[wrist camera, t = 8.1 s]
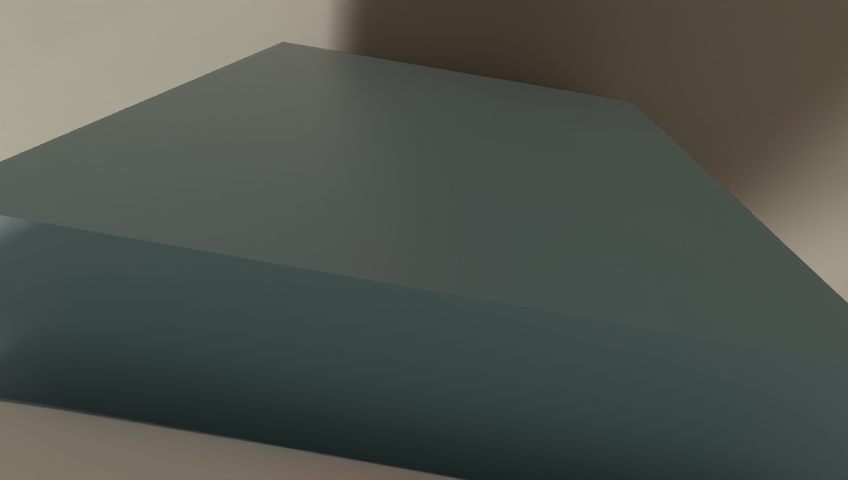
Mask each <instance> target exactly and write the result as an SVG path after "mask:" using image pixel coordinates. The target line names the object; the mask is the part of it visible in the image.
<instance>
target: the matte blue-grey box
mask: <svg viewBox="0 0 848 480" xmlns="http://www.w3.org/2000/svg"><path fill="white" fill-rule="evenodd" d="M0 398H4V399H11V400H18V401H25V402H32V403H39V404H45V405H51V406H56V407H62V408H68V409H74V410H79V411H85V412H91V413H97V414H102V415H108V416H114V417H120V418H125V419H131V420H137V421H143V422H148V423H154V424H160V425H165V426H171V427H177V428H183V429H188V430H194V431H200V432H206V433H211V434H217V435H223V436H228V437H234V438H240V439H246V440H251V441H257V442H263V443H268V444H274V445H280V446H285V447H291V448H296V449H302V450H308V451H313V452H319V453H324V454H330V455H336V456H341V457H347V458H352V459H358V460H364V461H369V462H375V463H380V464H386V465H391V466H397V467H403V468H408V469H414V470H419V471H425V472H430V473H436V474H441V475H447V476H452V477H458V478H463V479H469V480H848V303H847V302H846V301H845V300H844V299H843V298H842V297H841V296H839V295H838V294H837V293H836V292H835V291H834V290H833V289H832V288H831V287H830V286H829V285H828V284H827V283H826V282H825V281H823V280H822V279H821V278H820V277H819V276H818V275H817V274H816V273H815V272H814V271H813V270H812V269H811V268H810V267H809V266H807V265H806V264H805V263H804V262H803V261H802V260H801V259H800V258H799V257H798V256H797V255H796V254H795V253H794V252H793V251H791V250H790V249H789V248H788V247H787V246H786V245H785V244H784V243H783V242H782V241H781V240H780V239H779V238H778V237H777V236H775V235H774V234H773V233H772V232H771V231H770V230H769V229H768V228H767V227H766V226H765V225H764V224H763V223H762V222H761V221H759V220H758V219H757V218H756V217H755V216H754V215H753V214H752V213H751V212H750V211H749V210H748V209H747V208H746V207H745V206H743V205H742V204H741V203H740V202H739V201H738V200H737V199H736V198H735V197H734V196H733V195H732V194H731V193H730V192H729V191H727V190H726V189H725V188H724V187H723V186H722V185H721V184H720V183H719V182H718V181H717V180H716V179H715V178H714V177H713V176H711V175H710V174H709V173H708V172H707V171H706V170H705V169H704V168H703V167H702V166H701V165H700V164H699V163H698V162H697V161H695V160H694V159H693V158H692V157H691V156H690V155H689V154H688V153H687V152H686V151H685V150H684V149H683V148H682V147H681V146H679V145H678V144H677V143H676V142H675V141H674V140H673V139H672V138H671V137H670V136H669V135H668V134H667V133H666V132H665V131H663V130H662V129H661V128H660V127H659V126H658V125H657V124H656V123H655V122H654V121H653V120H652V119H651V118H650V117H649V116H647V115H646V114H645V113H644V112H643V111H642V110H641V109H640V108H639V107H638V106H637V105H636V104H635V103H634V102H632V101H626V100H620V99H614V98H608V97H602V96H597V95H591V94H585V93H579V92H573V91H567V90H561V89H556V88H550V87H544V86H538V85H532V84H526V83H520V82H515V81H509V80H503V79H497V78H491V77H485V76H479V75H474V74H468V73H462V72H456V71H450V70H444V69H439V68H433V67H427V66H421V65H415V64H409V63H403V62H398V61H392V60H386V59H380V58H374V57H368V56H362V55H357V54H351V53H345V52H339V51H333V50H327V49H321V48H316V47H310V46H304V45H298V44H292V43H286V42H282V43H279V44H277V45H275V46H272V47H270V48H268V49H265V50H263V51H260V52H258V53H256V54H253V55H251V56H249V57H246V58H244V59H242V60H239V61H237V62H235V63H232V64H230V65H227V66H225V67H223V68H220V69H218V70H216V71H213V72H211V73H209V74H206V75H204V76H201V77H199V78H197V79H194V80H192V81H190V82H187V83H185V84H183V85H180V86H178V87H176V88H173V89H171V90H168V91H166V92H164V93H161V94H159V95H157V96H154V97H152V98H150V99H147V100H145V101H143V102H140V103H138V104H135V105H133V106H131V107H128V108H126V109H124V110H121V111H119V112H117V113H114V114H112V115H110V116H107V117H105V118H102V119H100V120H98V121H95V122H93V123H91V124H88V125H86V126H84V127H81V128H79V129H77V130H74V131H72V132H69V133H67V134H65V135H62V136H60V137H58V138H55V139H53V140H51V141H48V142H46V143H44V144H41V145H39V146H36V147H34V148H32V149H29V150H27V151H25V152H22V153H20V154H18V155H15V156H13V157H11V158H8V159H6V160H3V161H1V162H0Z"/></svg>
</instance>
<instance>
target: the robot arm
mask: <svg viewBox="0 0 848 480" xmlns="http://www.w3.org/2000/svg"><path fill="white" fill-rule="evenodd" d="M0 480H469V479H463V478H458V477H452V476H447V475H441V474H436V473H430V472H425V471H419V470H414V469H408V468H403V467H397V466H391V465H386V464H380V463H375V462H369V461H364V460H358V459H352V458H347V457H341V456H336V455H330V454H324V453H319V452H313V451H308V450H302V449H296V448H291V447H285V446H280V445H274V444H268V443H263V442H257V441H251V440H246V439H240V438H234V437H228V436H223V435H217V434H211V433H206V432H200V431H194V430H188V429H183V428H177V427H171V426H165V425H160V424H154V423H148V422H143V421H137V420H131V419H125V418H120V417H114V416H108V415H102V414H97V413H91V412H85V411H79V410H74V409H68V408H62V407H56V406H51V405H45V404H39V403H32V402H25V401H18V400H11V399H4V398H0Z"/></svg>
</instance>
